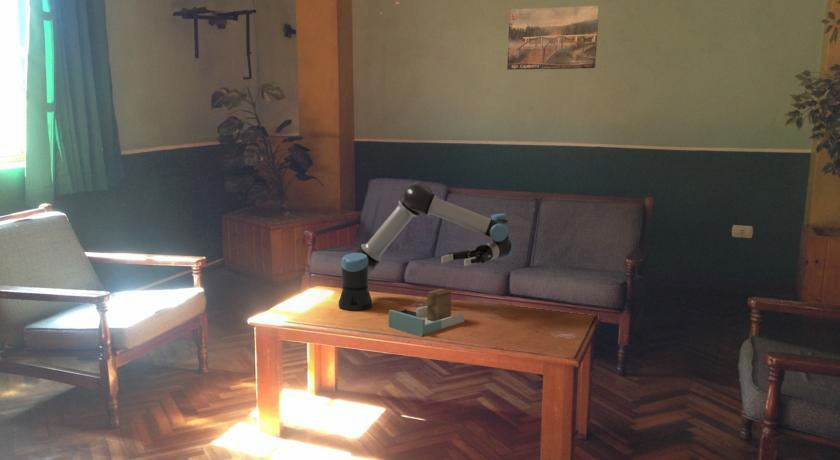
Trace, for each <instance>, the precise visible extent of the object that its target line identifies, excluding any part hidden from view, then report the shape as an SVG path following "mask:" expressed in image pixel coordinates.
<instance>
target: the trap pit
mask: <svg viewBox="0 0 840 460" xmlns="http://www.w3.org/2000/svg"><path fill="white" fill-rule="evenodd" d="M398 312H402V313H405V314H409V315H412V316H416V311H414V310H409V309H401V310H398Z"/></svg>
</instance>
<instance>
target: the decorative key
mask: <svg viewBox="0 0 840 460" xmlns="http://www.w3.org/2000/svg"><path fill="white" fill-rule="evenodd" d="M421 302H422V303H418V302H417V301H415V302H414V303H412V304H411V306H412V307H415V308H418V306H422V307H425V306H427V300H424V299H422V300H421Z"/></svg>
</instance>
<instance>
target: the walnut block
mask: <svg viewBox="0 0 840 460" xmlns="http://www.w3.org/2000/svg"><path fill="white" fill-rule="evenodd" d="M426 302H427V320H430V321H433V322H434V321H437V320H441V319H444V318H447V317H451V316H452V291H451V290H449V289H443V288H438V289H433V290H430V291H427V299H426Z"/></svg>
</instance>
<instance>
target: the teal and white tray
mask: <svg viewBox="0 0 840 460" xmlns="http://www.w3.org/2000/svg"><path fill="white" fill-rule="evenodd" d="M398 311H399V310H398ZM398 311H397V310H395V309H389V310H388V328H391V329H395V330H397V331H401V332H404V333H407V334H411V335H414V336H418V337H421V338H425V337H426V334H429V333H433V332H436V331H440V330H442V329H446V328H449V327H452V326H455V325H458V324H462V323H465V313H464V312H462V313H458V314H457V313H456V314H454V315H451V317H447V318H444V319H441V320H437V321H434V322H433V321H430V320H427V306H422V307H416V308H415V312H416V316H412V315H409V314H405V313H402V312H398Z"/></svg>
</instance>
